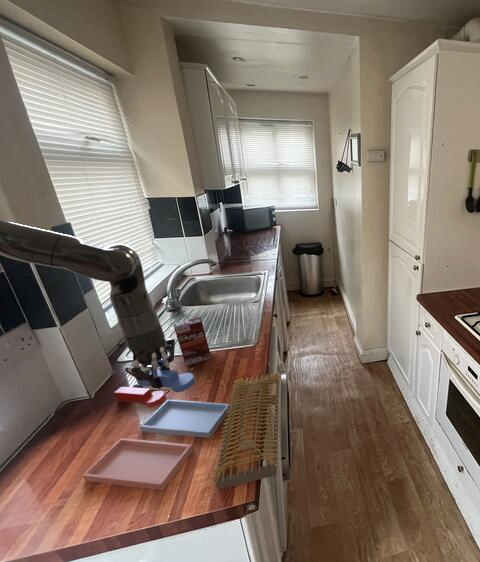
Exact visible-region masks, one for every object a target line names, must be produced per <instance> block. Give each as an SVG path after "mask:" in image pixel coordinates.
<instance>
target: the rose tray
mask: <svg viewBox="0 0 480 562" xmlns="http://www.w3.org/2000/svg"><path fill="white" fill-rule="evenodd" d="M193 452H194V448H193V445H192V444H188V443H187V444H186V443H178V442H166V441H156V440H145V439H135V438H123V437H120V438H119V439H118V440H117V441H116V442H115V443H114V444H113V445H112V446H111V447H110V448H109V449H108V450H107V451H106V452H105V453H103V455H102V456H100V457H99V458H98V459H97V460H96V461H95V462H94V463H93V464H92V465H91V466H90V467H89V468H88V469H87V470H86V471H85V472H84V473H83V474H82V475H81V477H82V478H83V480H84V482H89V483H97V484H106V485H114V486H123V487H130V488H138V489H139V488H140V489H149V490H156V491H165V489H166V488H167V487H168V485H169V483H170V482H171V481H172V480H173V479H174V477H175V476H176V474H177V473H178V472H179V470H180V469H181V468H182V466H183V465H184V464H185V462H187V460H188V459H189V457H190V456H191V454H192V453H193Z"/></svg>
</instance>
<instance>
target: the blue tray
mask: <svg viewBox="0 0 480 562" xmlns="http://www.w3.org/2000/svg"><path fill="white" fill-rule="evenodd" d="M230 404H231V403H223V402H211V401H210V402H209V401H197V400H182V399H171V398H170V399H169V398H168V399H166V400H164V401H163V402H162V403H161V404H160V406H159V407H158V408H157V410H155V411H154V412H153V413H152V414H151V415H150V416H149V417H148V418H147V419H146V420H145V421H143V423H142V424H141V425H140V426H139V428H140V430H141V432H142V433H147V434H148V433H149V434H160V435H171V436H180V437H181V436H183V437H191V438H192V437H193V438H202V439H211V438H212V436H213V435H214V434H215V432H216V431H217V429H218V428H219V426H221V424H222V422H224V420H225V418H226V417H225V416H227V415H229V413H226V412H228V411H230V407H231V406H228V405H230ZM228 408H229V409H228ZM227 409H228V410H227Z"/></svg>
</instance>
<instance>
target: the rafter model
mask: <svg viewBox="0 0 480 562" xmlns="http://www.w3.org/2000/svg"><path fill="white" fill-rule="evenodd" d="M280 384H281V370H279V371H275V372H274V373H271V374H270V375H269V374H268V375H263V374H261V376H259V377H258V375H257V376H256V377H254V376H252V377H251V378H249V377H246V379H244V378H243V377H242V378H241V380H239V379H233V384H232V389H231V392H230V395H229V397H230V398H229V400H230V401H228V404H230V405H228V406H231V407H230V411H228V412H226V413H228V414H227V416H225V418H226V419H224V420H223V422H225V423H223V427H222V428H221V429H222V430H223V429H225V430H223V431H221V434H223V435H221V436H220V438H223V439H220V440H219V443H221V442H222V443H221V444H218V445H217V447H221V448H219V449H217V450H216V451H217V452H220V453H219V454H218V453H217V454H216V455H215V457H218V458H216V459H215V460H214V462H217V461H218V462H217V463H215V464H214V465H213V467H216V468H215V469H212V472H211V475H214V474H215V475H214V476H212V477H211V478H210V481H211V482H210V483H209V486H211V485H212V484H213V483H214V485H216V488H217V491H222V490H225V489H228V488H232V487H237V486H240V485H244V484H247V483H252V482H255V481H256V482H257V481H260V480H262V479H267V478H270V477H274V476H278V468H279V466H278V464H279V461H278V458H279V455H280V454H279V453H278V451H280V449H279V448H278V447H279V446H280V444H279V443H278V442H280V439H279V438H280V436H279V433H280V431H279V429H280V427H279V425H280V423H279V421H280V419H279V417H280V415H279V414H280V413H281V411H280V410H281V408H280V406H281V404H280V402H281V401H280V399H281V398H280V396H281V394H280V393H281V391H280ZM256 395H257V396H256ZM228 409H229V408H228ZM228 409H227V410H228ZM266 409H267V410H266ZM236 415H238V416H236ZM227 417H228V418H227ZM236 419H237V420H236ZM265 420H267V421H265ZM235 423H236V424H235ZM265 424H267V425H266V426H265ZM224 425H226V426H224ZM234 427H235V428H234ZM265 429H266V430H265ZM234 431H235V432H234ZM264 433H265V434H264ZM258 434H259V435H258ZM260 434H262V435H260ZM233 436H234V437H233ZM264 437H265V438H264ZM260 438H262V439H260ZM272 439H273V440H272ZM232 440H233V441H232ZM257 443H258V444H257ZM261 443H262V444H261ZM231 445H232V446H231ZM263 446H264V447H263ZM265 446H266V447H265ZM230 450H231V451H230ZM246 450H251V451H246ZM240 451H241V452H240ZM244 451H245V452H244ZM261 451H264V452H261ZM255 452H256V453H255ZM230 454H231V455H230ZM247 455H250V456H247ZM240 456H241V457H240ZM244 456H245V457H244ZM234 459H235V460H234ZM261 460H265V465H263V466H261ZM257 461H258V467H257V468H254V462H257ZM249 463H251V469H247V464H249ZM241 465H244V471H240V466H241ZM236 466H237V472H235V473H233V469H234V467H236ZM229 468H230V471H229V474H228V475H225V474H226V470H228V469H229Z"/></svg>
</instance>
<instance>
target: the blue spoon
mask: <svg viewBox="0 0 480 562" xmlns="http://www.w3.org/2000/svg"><path fill="white" fill-rule="evenodd" d="M143 371H144V370H143ZM150 372H151V371H150ZM157 373H158V376H159V378H160V380H161V383H162V386H163V387H162V388H168V389H172V390H171V391H173V392H175V393H181V392H185V391H188V390H189V389H191V388H192V387H193V386H194V385H195V384H196V379H195V376H194V374H193V373H191V372H184V373H181V374H178V370H172V369H170V370H157ZM135 380H136V382H137V385H138V386H139V387H151V384H150V382H149V381H143V380H142V381H140V380H138V379H136V378H135ZM151 388H152V387H151Z"/></svg>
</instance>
